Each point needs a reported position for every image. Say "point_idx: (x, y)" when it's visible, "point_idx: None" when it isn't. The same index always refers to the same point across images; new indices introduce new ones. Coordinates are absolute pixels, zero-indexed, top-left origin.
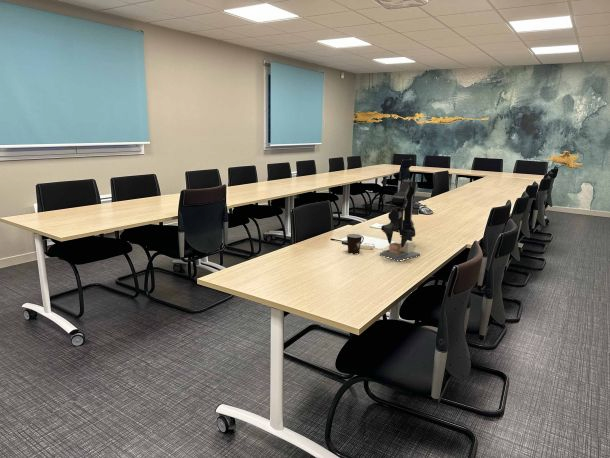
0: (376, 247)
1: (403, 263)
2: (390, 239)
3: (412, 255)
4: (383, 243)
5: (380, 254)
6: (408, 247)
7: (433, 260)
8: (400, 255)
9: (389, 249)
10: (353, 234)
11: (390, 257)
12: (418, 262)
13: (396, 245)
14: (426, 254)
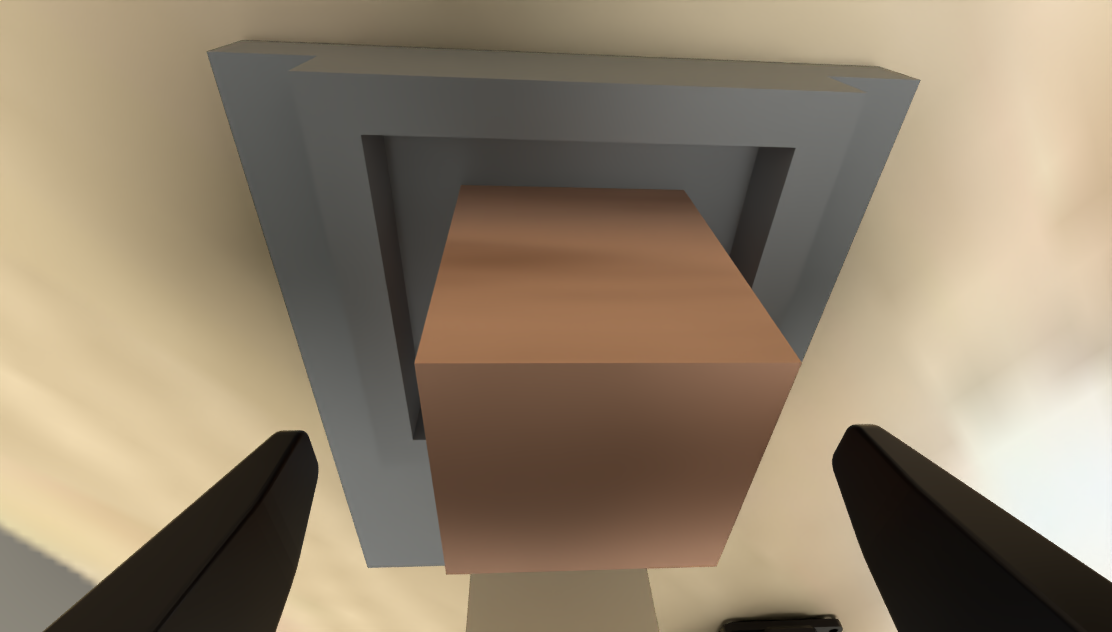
0: (1090, 394)
1: (74, 31)
2: (924, 592)
3: (344, 460)
4: None
5: (872, 70)
6: (471, 584)
7: (148, 538)
8: (337, 243)
9: (709, 247)
10: None
11: (529, 59)
12: (91, 345)
13: (452, 397)
14: (405, 605)
